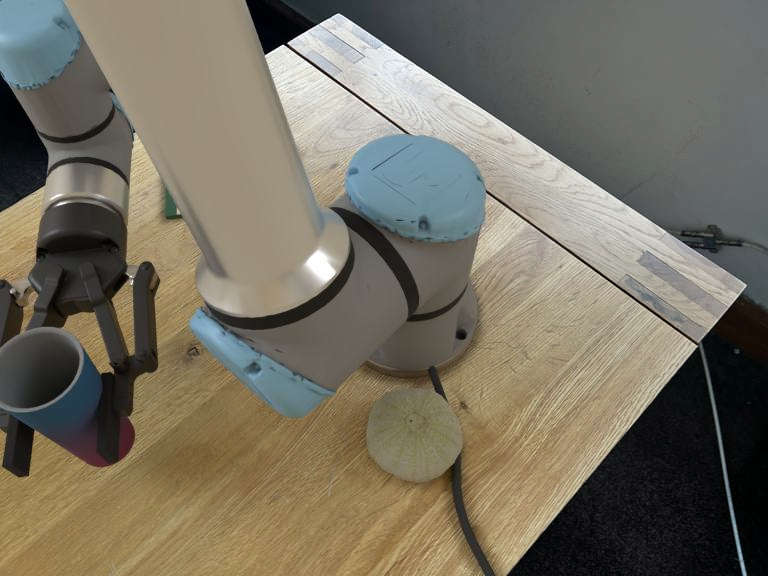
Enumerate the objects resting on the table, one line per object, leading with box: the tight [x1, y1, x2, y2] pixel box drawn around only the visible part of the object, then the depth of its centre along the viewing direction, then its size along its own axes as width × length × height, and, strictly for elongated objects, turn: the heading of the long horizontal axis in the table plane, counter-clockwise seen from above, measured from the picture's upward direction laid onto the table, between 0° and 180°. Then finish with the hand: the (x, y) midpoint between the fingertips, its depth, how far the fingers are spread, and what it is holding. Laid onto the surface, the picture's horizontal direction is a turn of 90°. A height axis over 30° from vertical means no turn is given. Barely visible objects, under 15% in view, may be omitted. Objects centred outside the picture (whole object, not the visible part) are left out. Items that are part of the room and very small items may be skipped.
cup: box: [0, 327, 136, 468], centre depth 54 cm, size 7×7×15 cm
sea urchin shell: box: [365, 387, 464, 484], centre depth 63 cm, size 9×8×8 cm
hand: (62, 463), depth 50 cm, fingers closed on cup, 6 cm apart
